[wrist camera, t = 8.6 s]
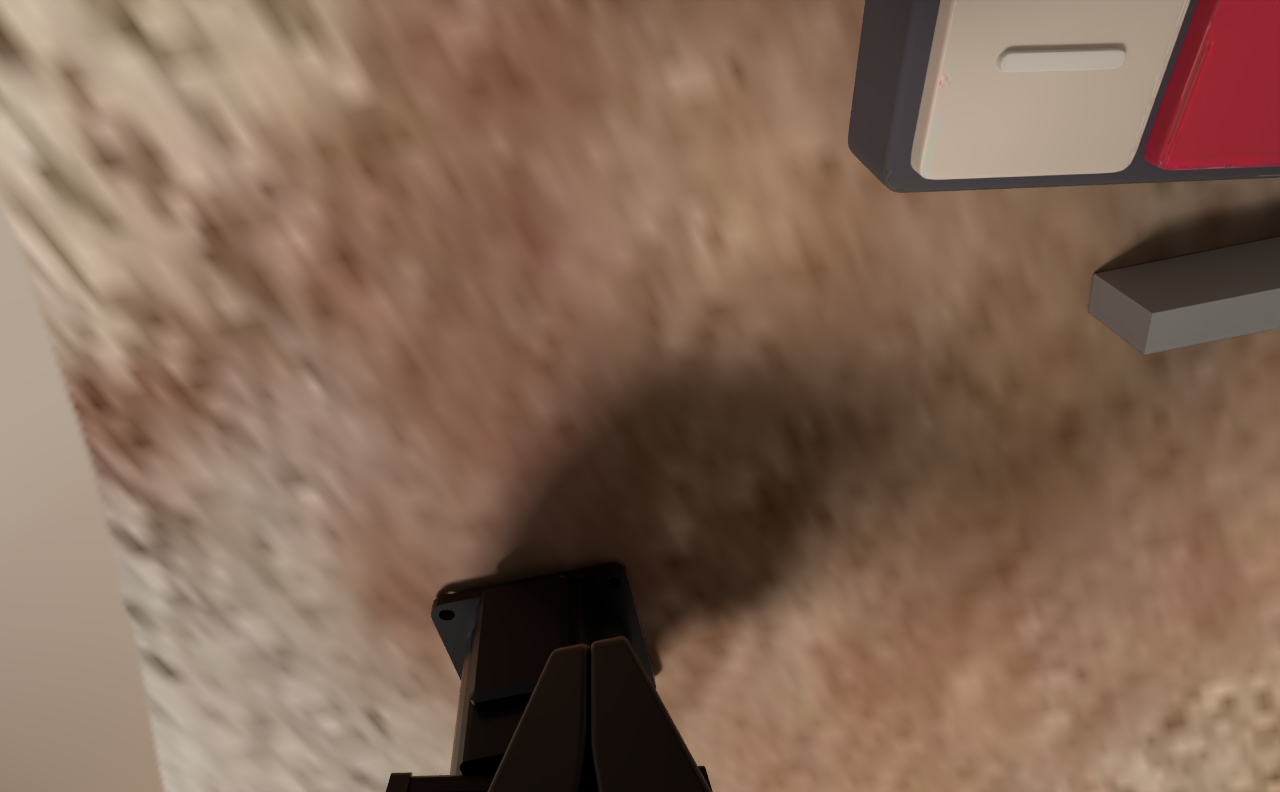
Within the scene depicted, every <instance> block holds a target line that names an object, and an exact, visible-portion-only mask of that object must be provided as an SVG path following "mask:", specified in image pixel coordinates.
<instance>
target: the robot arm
mask: <svg viewBox="0 0 1280 792" xmlns="http://www.w3.org/2000/svg"><path fill="white" fill-rule="evenodd" d="M610 577H617V578H616V579H608V578H610ZM445 610H451V611H445ZM431 617H432V620H433V622H434V624H435V626H436V628H437V630H438V633H439V635H440V637H441V639H442V641H443V643H444V645H445V647H446V650H447V652H448V654H449V656H450V658H451V660H452V662H453V665H454V667H455V669H456V671H457V673H458V675H459V677H460V680H461V687H460V695H459V703H458V711H457V720H456V728H455V736H454V744H453V752H452V760H451V769H450V775H439V776H412V773H391V776H390V779H389V783H388V786H387V790H386V792H712V788H711V785H710V782H709V779H708V775H707V772H706V769H705V766H697V764H696V762H695V761H694V759H693V757H692V755H691V753H690V751H689V750H688V748H687V746H686V744H685V742H684V740H683V739H682V737H681V735H680V733H679V731H678V729H677V728H676V726H675V724H674V722H673V720H672V719H671V717H670V715H669V713H668V711H667V709H666V708H665V706H664V704H663V702H662V700H661V698H660V697H659V695H658V693H657V691H656V683H655V677H654V673H653V669H652V665H651V661H650V657H649V653H648V649H647V645H646V642H645V638H644V634H643V630H642V626H641V622H640V618H639V614H638V610H637V607H636V603H635V599H634V595H633V591H632V587H631V583H630V579H629V575H628V572H627V569H626V568H625V566H623V565H622V564H619V563H606V564H601V565H596V566H591V567H586V568H581V569H575V570H570V571H565V572H560V573H555V574H550V575H545V576H540V577H534V578H529V579H524V580H519V581H514V582H509V583H504V584H499V585H493V586H488V587H483V588H478V589H473V590H468V591H463V592H458V593H453V594H447V595H443V596H440V597H438V598H437V599H435V600H434V602H433V605H432V611H431Z"/></svg>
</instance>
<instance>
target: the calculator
mask: <svg viewBox="0 0 1280 792" xmlns="http://www.w3.org/2000/svg"><path fill="white" fill-rule="evenodd" d="M848 144H849V148H850V150H851V152H852V153H853V154H854V155H855V156H856V157H857V158H858V159H859V160H860V161H861V162H862V163H863V164H864V165H865V166H866V167H867V168H868V169H869V170H870V171H871V172H872V173H873V174H874V175H875V176H876V177H877V178H878V179H879V180H880V181H881V182H882V183H883V184H884V185H885V186H886V187H887V188H888V189H890V190H891V191H894V192H900V193H909V192H935V191H959V190H984V189H1008V188H1033V187H1057V186H1082V185H1106V184H1131V183H1155V182H1180V181H1204V180H1228V179H1253V178H1277V177H1280V0H865V8H864V16H863V24H862V31H861V39H860V47H859V55H858V63H857V70H856V78H855V86H854V94H853V102H852V110H851V118H850V126H849V135H848Z"/></svg>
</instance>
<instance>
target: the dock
mask: <svg viewBox="0 0 1280 792" xmlns="http://www.w3.org/2000/svg"><path fill="white" fill-rule="evenodd" d="M1088 312H1089V313H1090V314H1091V315H1092V316H1094V317H1095V318H1096V319H1098V320H1099V321H1100V322H1102V323H1103V324H1104V325H1106V326H1107V327H1108V328H1110V329H1111V330H1112V331H1113V332H1115V333H1116V334H1117V335H1119V336H1120V337H1121V338H1123V339H1124V340H1125V341H1127V342H1128V343H1129V344H1131V345H1132V346H1133V347H1135V348H1136V349H1137V350H1138V351H1140V352H1141V353H1142V354H1144V355H1146V354H1151V353H1156V352H1161V351H1166V350H1171V349H1176V348H1181V347H1186V346H1191V345H1196V344H1201V343H1206V342H1211V341H1216V340H1221V339H1227V338H1232V337H1237V336H1242V335H1247V334H1252V333H1257V332H1262V331H1267V330H1272V329H1277V328H1280V237H1275V238H1270V239H1265V240H1260V241H1255V242H1250V243H1245V244H1240V245H1235V246H1230V247H1225V248H1220V249H1215V250H1210V251H1205V252H1200V253H1195V254H1190V255H1185V256H1180V257H1175V258H1170V259H1165V260H1160V261H1155V262H1150V263H1145V264H1140V265H1135V266H1130V267H1125V268H1120V269H1115V270H1110V271H1105V272H1100V273H1095V274H1094V276H1093V283H1092V290H1091V296H1090V303H1089V309H1088Z"/></svg>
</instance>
